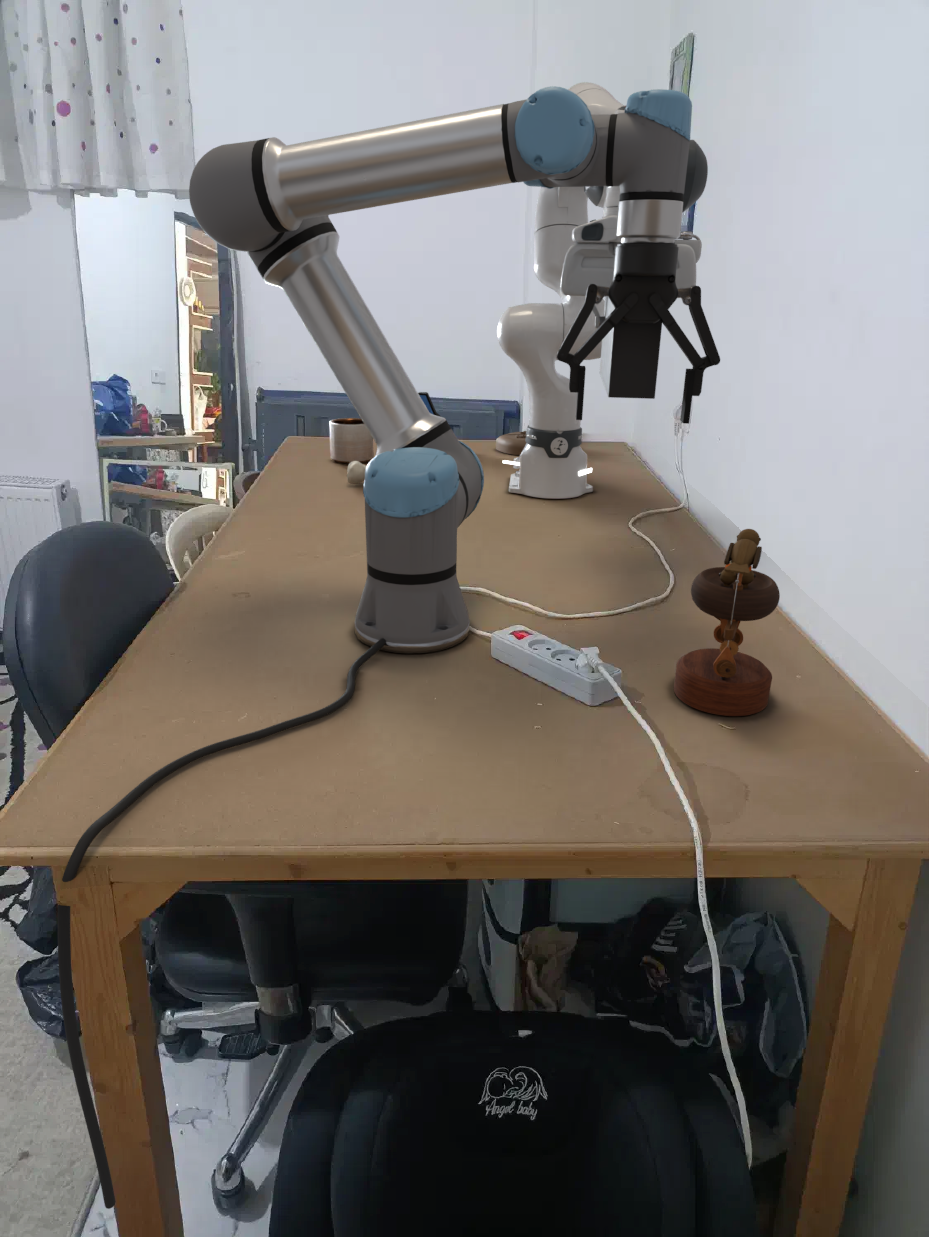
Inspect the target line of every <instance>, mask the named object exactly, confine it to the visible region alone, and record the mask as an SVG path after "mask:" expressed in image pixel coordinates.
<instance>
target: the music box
mask: <svg viewBox="0 0 929 1237" xmlns="http://www.w3.org/2000/svg"><path fill="white" fill-rule="evenodd" d="M761 541H762V538H761V537H760V535H759V532H757V531H756V530H755V529H753V528H745V529H742V530H741V531H740V532H738V534H736V542H730V543H729V545H728V548H727V550H726V553H725V556H724V561H723V564H724V565H725V566H716V567H709V568H705V569H704V570H702V571H701V572H699V573H698V574H697V575H696V576H695V578H694V579H693V581H692V584H691V587H690V595H691V599H692V601H693V603H694V604H695V606H696V607H697V608H699V610H700V611H702V612H703V613H704V614H707V615H709V616H712V617H713V618H715V619H717V620H718V621H719V622H720V624H717V625H716V626H715V627H714V629H713V638H714V640H715V641H716V642H717V643H720V645H719V648H700V649H696V650H692V651H690V652H688V653H686V654H684V655H683V656H681V657H679V659H678V660H677V661H676V666H675V667H676V668H675V673H674V674H675V676H674V684H673V691H674V694H675V696H676V697H677V698H678V699H679V700H680V701H681V702H682V703H684V704H685V705H687V706H689V707H691V708H693V709H695V710H699V711H701V712H704V713H708V714H713V715H717V716H726V717H744V716H749V715H754V714H757V713H760V712H762V711H763V710H765V709H766V707H767V706H768V704H769V697H770V693H771V687H772V680H773V674H772V672H771V670H770V669H769V668H768V667H767V666H766V665H765V664H764V662H762V661H761V660H760V659H757V658H756V657H754V656H752V655H750V654H746V653H744V652H740V651H739V650H740V649H739V647H740V646H741V644H743V642H744V634H743V632H742V631H741V629H740V628H739V627H740V624H741V622H752V621H753V622H754V621H759V620H762V619H764V618H766V617H768V616H769V615H771V614H772V613H773V612H774V611H775V610H776V609H777V607H778V605H779V602H780V596H781V592H780V589H779V587H778V584H777V583H776V582H775V580H774V579H773V578H772V577H771V576H769V575H767V574H765V573H763V572H760V571H757V570H756V569H757V568H758V566H759V564H760V560H761V557H762V550H763V547H762V546H761V545H760V542H761ZM759 545H760V546H759Z"/></svg>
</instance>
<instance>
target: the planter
mask: <svg viewBox="0 0 929 1237" xmlns="http://www.w3.org/2000/svg"><path fill="white" fill-rule="evenodd" d="M328 424H329V425H328V426H329V453H330V454H329V455H330V456H329V457H330V459H331V460H332V461H333V462H335V463H341V464H350V463H351V462H353V461H359V462H360V463H361V464H364V463H367V462H368V463H369V462H370V461H371V460H372V459H373V458H374V457H375V455H374V452H375V451H374V450H375V449H374V439H373V437H372V436H371V434H370V432H369V431H368V429H367V428H366V426H365V424H364V423H363V421H362V419H361V418H360V417H342V418H341V417H340V418H335V419H334V418H333V419H331V420H329V421H328Z"/></svg>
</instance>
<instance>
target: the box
mask: <svg viewBox="0 0 929 1237" xmlns="http://www.w3.org/2000/svg"><path fill="white" fill-rule="evenodd" d="M604 301H605V306H604V316H605V320H606V318H607V317H608V316H609V315H610V314H611V312H612V311H613V310H614V309H615V307H614V305H613V304H612V302H611V300H610V299H609V297H608V296H605V297H604ZM662 327H663V323H662V322H661V320H659V321H658V322H656V323H654V324H647V323H644V322H638V323H627V322H625V321H624V320H622V319H621V320H620V321H619V322H618V323H617V324H616V325H615V326H614V327H613V328H612V329H611V331H610V332H609V333H608V334H607V335H606V336H605V337H604V338H603V339H602V347H601V358H600V361H599V362H600V363H599V375H600V378H601V381H602V384H603V386H604V390H605V392H606V394H607V397H608V398H612V399H613V398H614V399H616V398H617V399H619V398H621V399H647V400H649V399H650V400H651V399H652V400H655V399H656V390H657V389H656V388H657V378H658V371H659V370H658V369H659V360H660V351H661V350H660V349H661V339H662Z"/></svg>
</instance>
